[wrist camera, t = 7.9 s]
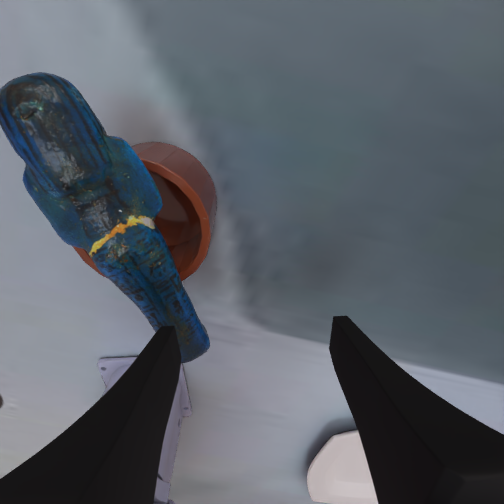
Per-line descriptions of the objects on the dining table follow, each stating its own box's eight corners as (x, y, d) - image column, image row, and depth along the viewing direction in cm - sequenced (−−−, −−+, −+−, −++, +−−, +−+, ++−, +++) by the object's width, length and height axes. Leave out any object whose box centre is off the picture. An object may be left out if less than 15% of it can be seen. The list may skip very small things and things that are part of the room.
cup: (221, 245, 22) (216, 285, 17) (121, 249, 22) (88, 291, 17) (211, 139, 19) (201, 154, 14) (91, 143, 18) (38, 159, 14)
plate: (472, 410, 34) (485, 427, 32) (419, 487, 43) (426, 504, 42) (316, 412, 33) (320, 429, 31) (295, 490, 42) (297, 507, 40)
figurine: (223, 314, 19) (100, 72, 13) (239, 349, 16) (83, 45, 10) (158, 348, 19) (-7, 108, 12) (160, 392, 15) (-67, 93, 9)
